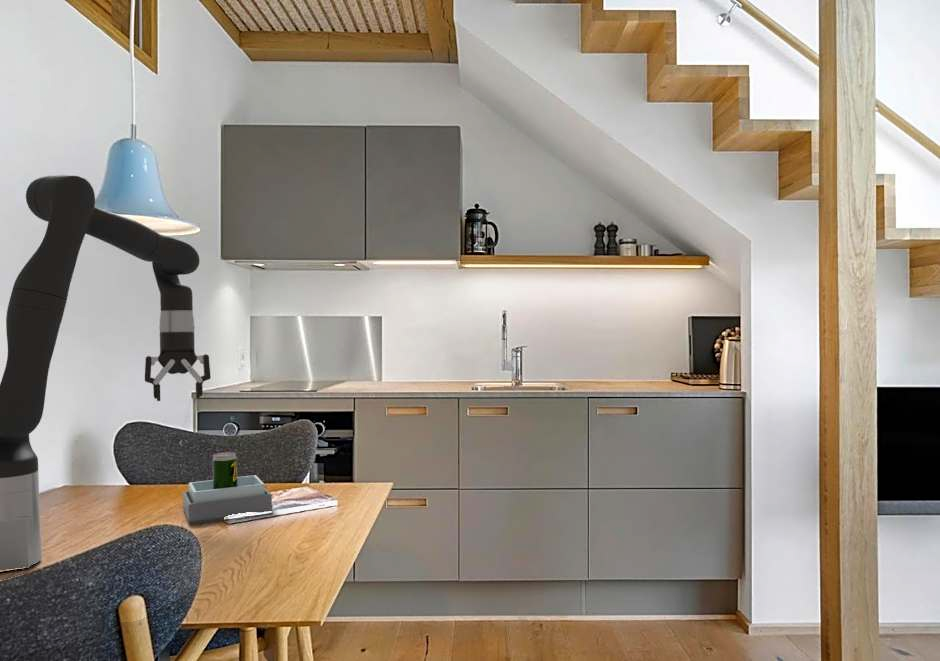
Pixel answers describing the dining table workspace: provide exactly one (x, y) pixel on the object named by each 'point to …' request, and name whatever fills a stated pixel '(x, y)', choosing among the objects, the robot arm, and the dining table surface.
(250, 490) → the top crate
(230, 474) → the beer can
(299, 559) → the dining table surface
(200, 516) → the bottom crate
